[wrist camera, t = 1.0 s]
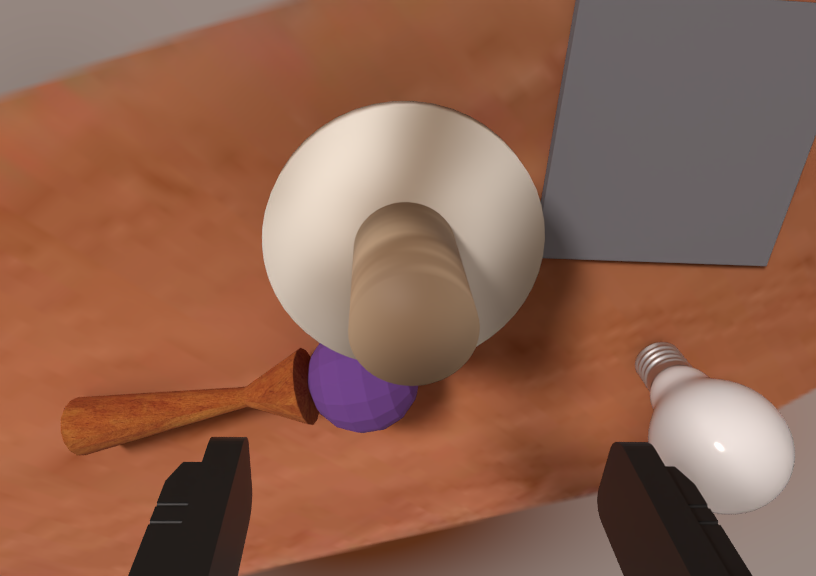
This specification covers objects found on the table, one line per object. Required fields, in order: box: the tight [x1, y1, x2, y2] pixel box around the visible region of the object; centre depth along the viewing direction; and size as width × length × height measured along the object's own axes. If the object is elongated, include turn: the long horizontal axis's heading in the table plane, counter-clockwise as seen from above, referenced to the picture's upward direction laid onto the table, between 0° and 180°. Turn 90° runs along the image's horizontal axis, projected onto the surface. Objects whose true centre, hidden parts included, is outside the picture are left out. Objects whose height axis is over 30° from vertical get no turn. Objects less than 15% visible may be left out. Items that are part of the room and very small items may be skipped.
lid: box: [262, 101, 545, 386], centre depth 22 cm, size 11×11×7 cm
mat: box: [541, 0, 816, 266], centre depth 30 cm, size 13×13×1 cm
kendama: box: [61, 343, 418, 455], centre depth 34 cm, size 6×6×20 cm
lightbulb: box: [635, 342, 795, 514], centre depth 32 cm, size 6×6×11 cm
